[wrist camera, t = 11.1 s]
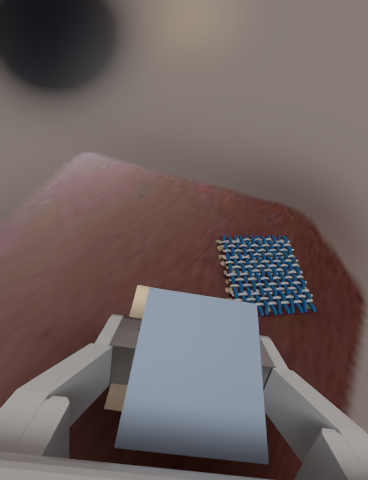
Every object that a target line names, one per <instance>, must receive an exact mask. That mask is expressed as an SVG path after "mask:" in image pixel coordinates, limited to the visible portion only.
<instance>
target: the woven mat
mask: <svg viewBox="0 0 368 480" xmlns="http://www.w3.org/2000/svg"><path fill="white" fill-rule="evenodd" d="M220 238H221V240H217V241H216V243H219V244H221V245H220V246H217V249H218V251H222V253H223V255H218V256H219V259H225V261H222V262H221V263H220V264H221V265H222V266H223V267H226V270H224V275H226V276H228V280H225V281H226V284H229V287H228V288H225V292H226V293H227V294H229V293H230V294H231V296H232V298H227V299H228V300H235V301H241V302H248V303H254V304H257V313H258V317H260V316H268V315H269V316H273V315H281V314H282V315H286V313H287V314H293V313H295V314H300V313H307V314H310V311H309V310H308V309H311V311H312V312H316V308H315V307H314V305H313V304H312V303H311V302H313V300H312V299H311V297H313V295H312V294H311V295H310V294H309V293H308V292H309V290H308V289H306V287H305V283H307V281H304V280H303V279H302V278H304V277H303V276H301V275H300V273H302V271H300V269H299V268H298V267H297V266H299V265H298V264H296V262H297V261H298V260H296V259H295V258H293V257H295V256H294V255H292V251H293V250H294V249H291V248H290V247H291V245H290V244H288V243H289V242H290V241H288V240H287V238H286V237H285V236H282V235H279V236H271V237H270V236H269V235H264V236H261V237H260V235H259V236H258V235H256V236H250V235H248V236H247V235H245V236H239V237H237V236H223V235H222V236H220ZM232 244H233V245H232ZM257 244H258V245H257ZM287 249H288V250H287ZM228 252H229V253H228ZM289 258H290V259H289ZM230 260H231V261H230ZM240 276H241V278H240ZM255 276H256V277H255ZM271 291H273V292H271ZM304 294H305V295H304ZM238 296H239V297H238ZM292 299H293V300H292ZM255 301H256V302H255ZM285 311H286V312H285ZM272 312H273V314H272Z"/></svg>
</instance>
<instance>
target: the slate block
mask: <svg viewBox="0 0 368 480" xmlns="http://www.w3.org/2000/svg"><path fill="white" fill-rule="evenodd" d="M114 448H120V449H129V450H139V451H148V452H157V453H166V454H176V455H185V456H194V457H203V458H213V459H222V460H231V461H241V462H250V463H259V464H268V465H269V460H268V446H267V433H266V420H265V406H264V393H263V380H262V366H261V353H260V339H259V326H258V313H257V304H254V303H248V302H241V301H235V300H228V299H222V298H215V297H209V296H203V295H196V294H190V293H183V292H177V291H170V290H164V289H157V288H151V287H149V291H148V295H147V300H146V304H145V309H144V313H143V318H142V323H141V327H140V332H139V336H138V341H137V345H136V350H135V354H134V359H133V364H132V368H131V373H130V377H129V382H128V386H127V391H126V396H125V400H124V405H123V409H122V414H121V418H120V423H119V427H118V432H117V437H116V441H115V446H114Z"/></svg>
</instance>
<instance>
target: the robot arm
mask: <svg viewBox="0 0 368 480" xmlns="http://www.w3.org/2000/svg"><path fill="white" fill-rule="evenodd" d="M141 323H142V319H140V318H134V317H128V316H121V315H115V314H112V315H111V316H110V318H109V320H108V321H107V323H106V325H105V326H104V328H103V330H102V331H101V333H100V335H99V337H98V338H97V340H96V342H95V343H94V344H93V343H90V344H88V345H87V346H85V347H84V348H82V349H80V350H79V351H77V352H76V353H74V354H72V355H71V356H69V357H68V358H66V359H64V360H63V361H61V362H60V363H58V364H56V365H55V366H53V367H52V368H50V369H49V370H47V371H45V372H44V373H42V374H41V375H39V376H37V377H36V378H34V379H33V380H31V381H29V382H28V383H26V384H25V385H23V386H21V387H20V388H18V389H17V390H16V391H15V392H14V393H13V394H12V395H11V397H10V398H9V399H8V400H7V401H6V403H5V404H4V405H3V406H2V407H1V408H0V480H272V479H262V478H252V477H243V476H233V475H223V474H214V473H204V472H194V471H184V470H175V469H165V468H155V467H145V466H135V465H125V464H116V463H106V462H96V461H86V460H76V459H68V458H69V427H70V426H71V425H72V424H73V423H74V422H75V421H76V420H77V419H78V418H79V417H80V416H81V415H82V414H83V412H84V411H85V410H86V409H87V408H88V407H89V406H90V405H91V404H92V403H93V402H94V401H95V400H96V399H97V398H98V397H99V396H100V395H101V393H102V392H103V391H104V390H105V389H106V388H107V387H108V386H109V384H120V385H128V382H129V377H130V373H131V368H132V364H133V359H134V354H135V350H136V345H137V341H138V336H139V332H140V327H141ZM259 339H260V353H261V366H262V380H263V393H264V406H265V413H266V414H267V416H268V417H269V418H270V420H271V421H272V422H273V424H274V425H275V427H276V428H277V429H278V431H279V432H280V433H281V435H282V436H283V437H284V439H285V440H286V442H287V443H288V444H289V446H290V447H291V448H292V450H293V451H294V453H295V454H296V455H297V457H298V458H299V459H300V461H301V462H302V465H301V467H300V469H299V470H298V472H297V474H296V477H295V480H368V434H367V433H366V432H365V431H364V430H363V429H361V428H360V427H359V426H358V425H357V424H356V423H354V422H353V421H352V420H351V419H350V418H348V417H347V416H346V415H345V414H344V413H342V412H341V411H340V410H339V409H338V408H337V407H335V406H334V405H333V404H332V403H331V402H329V401H328V400H327V399H326V398H325V397H323V396H322V395H321V394H320V393H319V392H317V391H316V390H315V389H314V388H313V387H312V386H310V385H309V384H308V383H307V382H306V381H304V380H303V379H302V378H301V377H300V376H298V375H297V374H296V373H295V372H294V371H292V370H289V369H288V367H287V366H286V364H285V362H284V361H283V359H282V357H281V356H280V354H279V352H278V351H277V349H276V347H275V346H274V344H273V342H272V341H271V339H270V338H269V337H268V336H260V335H259Z"/></svg>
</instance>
